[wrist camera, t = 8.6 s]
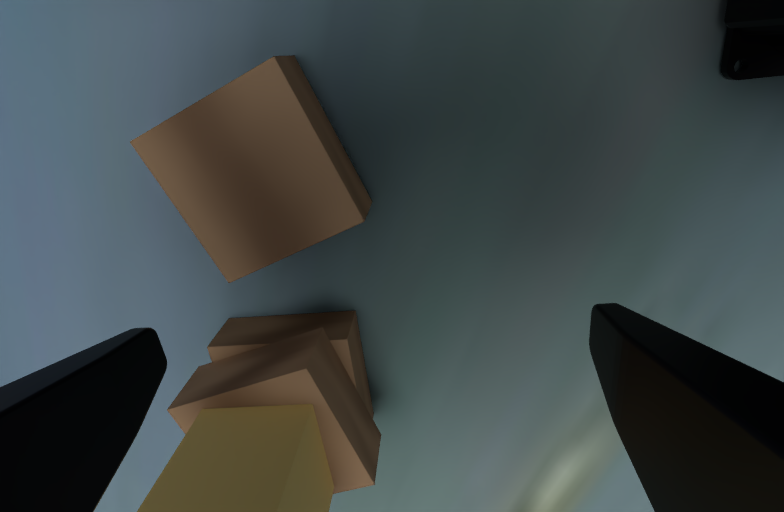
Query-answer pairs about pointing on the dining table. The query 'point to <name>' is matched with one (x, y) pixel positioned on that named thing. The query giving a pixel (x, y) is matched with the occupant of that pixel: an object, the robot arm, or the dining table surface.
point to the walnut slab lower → (272, 329)
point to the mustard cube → (247, 464)
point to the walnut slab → (256, 169)
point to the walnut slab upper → (293, 399)
